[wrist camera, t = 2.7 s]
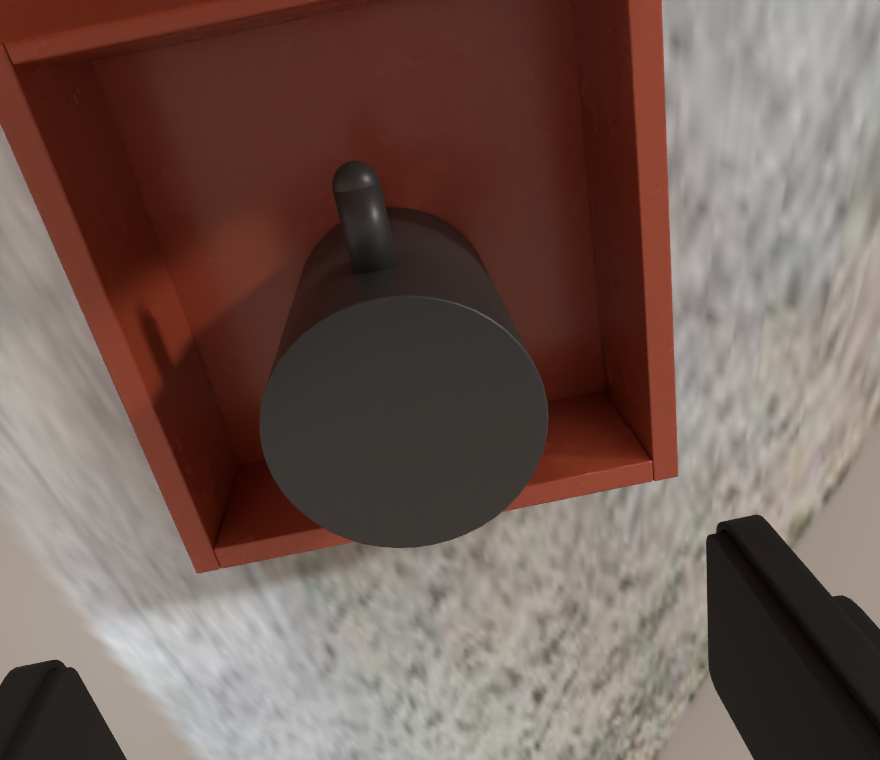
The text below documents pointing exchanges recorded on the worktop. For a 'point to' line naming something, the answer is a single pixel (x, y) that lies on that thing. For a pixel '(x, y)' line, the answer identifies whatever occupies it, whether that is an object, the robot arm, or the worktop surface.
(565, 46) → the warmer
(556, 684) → the worktop surface
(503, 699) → the worktop surface
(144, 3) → the lid
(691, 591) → the worktop surface
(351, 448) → the mug
